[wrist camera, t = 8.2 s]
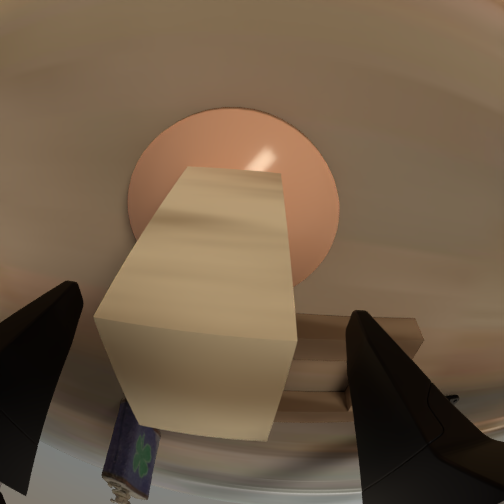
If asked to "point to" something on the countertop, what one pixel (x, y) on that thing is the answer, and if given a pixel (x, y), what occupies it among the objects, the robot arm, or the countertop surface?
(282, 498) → the countertop surface
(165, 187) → the terracotta plate
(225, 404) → the maple block
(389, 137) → the countertop surface
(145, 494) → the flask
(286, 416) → the pocket board
